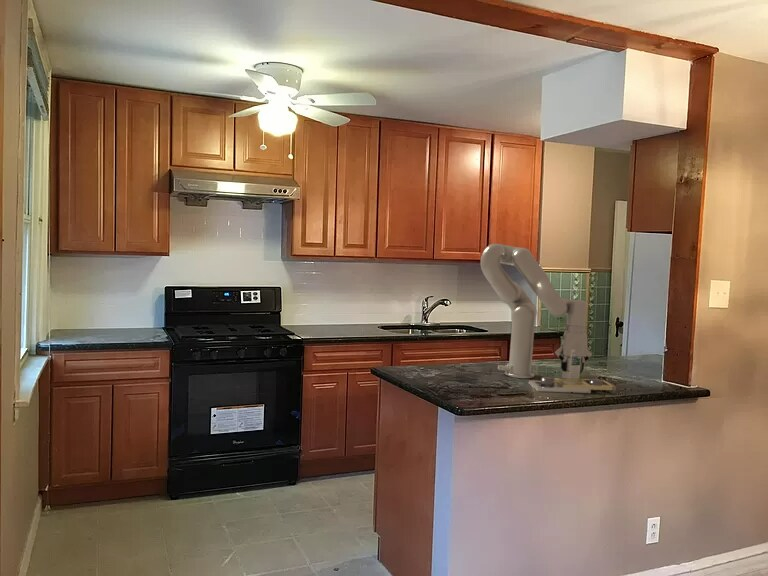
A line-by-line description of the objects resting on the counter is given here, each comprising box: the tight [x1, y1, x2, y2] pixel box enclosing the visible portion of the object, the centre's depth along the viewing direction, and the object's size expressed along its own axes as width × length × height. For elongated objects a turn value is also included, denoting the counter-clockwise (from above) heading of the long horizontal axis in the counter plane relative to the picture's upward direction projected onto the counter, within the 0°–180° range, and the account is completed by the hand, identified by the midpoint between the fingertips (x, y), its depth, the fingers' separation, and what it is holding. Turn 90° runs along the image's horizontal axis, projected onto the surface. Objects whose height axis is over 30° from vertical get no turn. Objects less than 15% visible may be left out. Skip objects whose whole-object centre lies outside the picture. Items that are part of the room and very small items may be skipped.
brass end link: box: [553, 377, 617, 395], centre depth 249 cm, size 21×11×4 cm, turn 94°
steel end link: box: [528, 376, 592, 394], centre depth 248 cm, size 21×11×4 cm, turn 94°
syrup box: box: [561, 349, 583, 379], centre depth 261 cm, size 6×6×14 cm
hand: (572, 370), depth 261 cm, fingers closed on syrup box, 6 cm apart
